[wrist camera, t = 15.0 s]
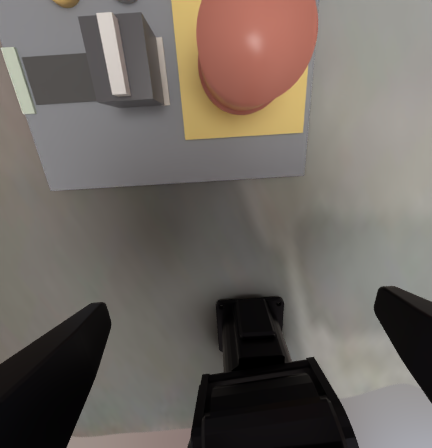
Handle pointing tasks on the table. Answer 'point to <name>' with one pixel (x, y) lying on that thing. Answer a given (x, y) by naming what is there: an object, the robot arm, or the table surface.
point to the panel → (145, 115)
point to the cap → (253, 50)
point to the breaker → (122, 59)
